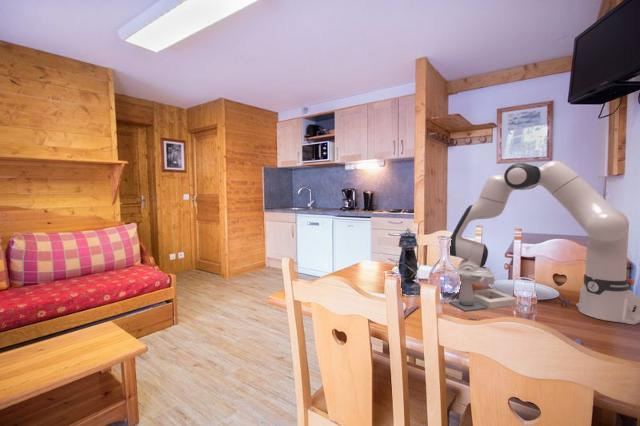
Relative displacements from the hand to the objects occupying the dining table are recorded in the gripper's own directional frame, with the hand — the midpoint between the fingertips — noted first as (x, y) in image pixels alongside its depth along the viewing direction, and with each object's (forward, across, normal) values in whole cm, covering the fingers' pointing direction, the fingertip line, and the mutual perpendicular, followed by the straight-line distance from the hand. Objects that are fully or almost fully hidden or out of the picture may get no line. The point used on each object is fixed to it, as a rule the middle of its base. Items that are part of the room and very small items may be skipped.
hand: (467, 281), depth 129 cm
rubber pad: (+3, 0, +10) cm, 10 cm away
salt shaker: (+3, 0, +9) cm, 10 cm away
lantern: (-6, -25, +10) cm, 28 cm away
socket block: (-8, +9, +10) cm, 15 cm away
